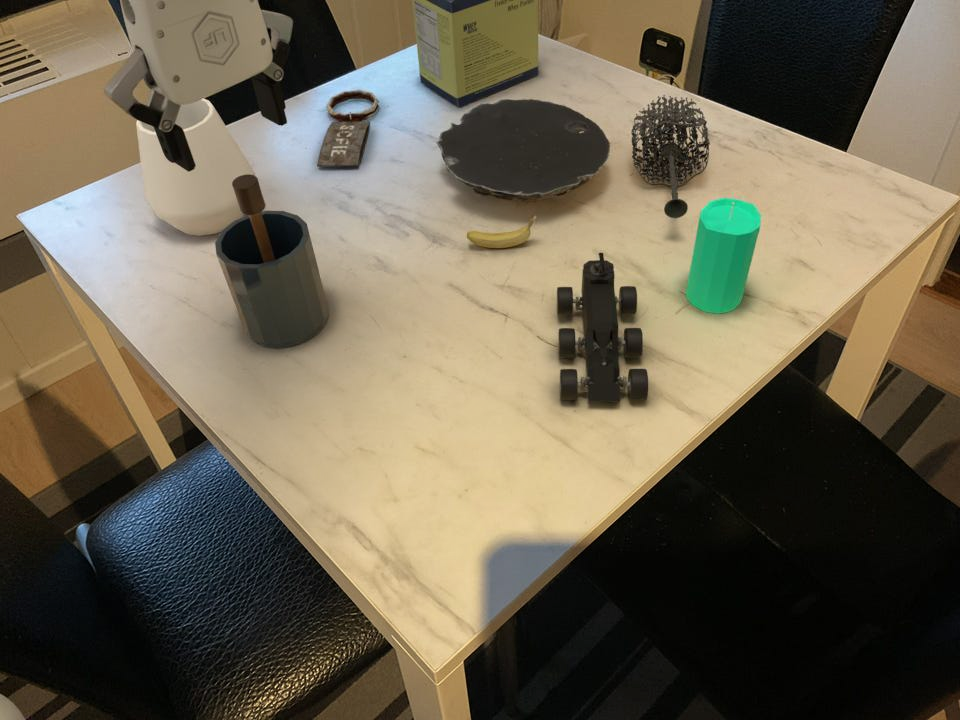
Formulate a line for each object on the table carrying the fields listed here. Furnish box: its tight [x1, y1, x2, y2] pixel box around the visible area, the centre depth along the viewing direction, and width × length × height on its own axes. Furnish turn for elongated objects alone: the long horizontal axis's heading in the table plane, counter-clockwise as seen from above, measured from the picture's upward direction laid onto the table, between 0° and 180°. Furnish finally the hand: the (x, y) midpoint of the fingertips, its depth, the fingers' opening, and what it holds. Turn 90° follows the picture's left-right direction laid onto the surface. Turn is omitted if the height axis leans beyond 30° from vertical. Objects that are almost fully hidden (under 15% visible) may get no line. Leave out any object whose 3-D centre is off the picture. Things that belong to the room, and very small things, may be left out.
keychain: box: [316, 89, 380, 168], centre depth 113 cm, size 8×19×2 cm, turn 177°
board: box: [436, 98, 611, 203], centre depth 102 cm, size 22×22×5 cm
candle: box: [685, 197, 762, 315], centre depth 82 cm, size 6×6×12 cm
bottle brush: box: [232, 174, 275, 263], centre depth 81 cm, size 4×4×17 cm
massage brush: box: [630, 94, 711, 219], centre depth 97 cm, size 9×22×9 cm, turn 174°
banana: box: [466, 213, 537, 249], centre depth 93 cm, size 8×2×4 cm, turn 94°
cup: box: [135, 98, 256, 237], centre depth 96 cm, size 13×13×14 cm
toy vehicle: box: [556, 252, 649, 403], centre depth 78 cm, size 8×15×9 cm, turn 178°
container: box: [214, 210, 330, 349], centre depth 83 cm, size 9×9×11 cm
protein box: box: [411, 0, 540, 108], centre depth 117 cm, size 10×16×16 cm
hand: (230, 141), depth 71 cm, fingers open, 9 cm apart
